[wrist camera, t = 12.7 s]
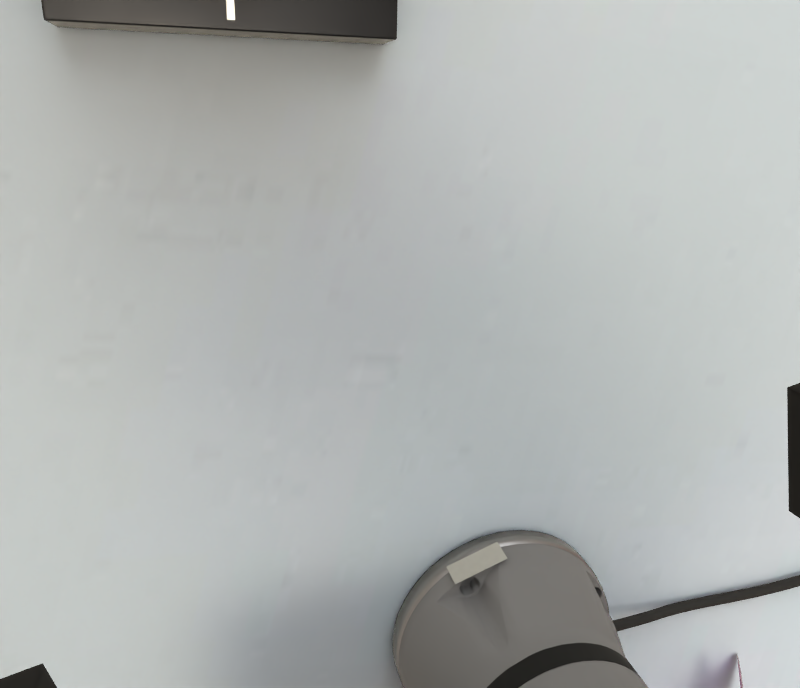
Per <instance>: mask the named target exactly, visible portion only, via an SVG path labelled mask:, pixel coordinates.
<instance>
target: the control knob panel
mask: <svg viewBox="0 0 800 688" xmlns="http://www.w3.org/2000/svg"><path fill="white" fill-rule="evenodd" d="M41 2H42V9H43V17H44V20H46V21H48V22H49V23H51V24H53V25H55V26H57V27H63V28H82V29H101V30H120V31H139V32H158V33H176V34H195V35H214V36H233V37H252V38H271V39H290V40H309V41H328V42H346V43H365V44H385V43H388V42H390V41H393V40H395V39H396V38H397V0H41Z"/></svg>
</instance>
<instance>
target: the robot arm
mask: <svg viewBox="0 0 800 688" xmlns="http://www.w3.org/2000/svg"><path fill="white" fill-rule="evenodd" d="M787 396H788V475H789V511H790V512H792V513H793V514H794V515H796V516H797V517H799V518H800V383H798V384H796V385H793V386H790V387H788V388H787ZM798 586H800V575H799V576H795V577H792V578H788V579H784V580H780V581H776V582H773V583H769V584H765V585H760V586H756V587H751V588H747V589H742V590H737V591H732V592H727V593H721V594H716V595H711V596H706V597H701V598H696V599H691V600H687V601H682V602H678V603H674V604H670V605H667V606H663V607H660V608H656V609H653V610H650V611H647V612H643V613H640V614H636V615H633V616H629V617H625V618H621V619H617V620H613V621H612V619H611V617H610V615H609V609H608V604H607V600H606V597H605V594H604V591H603V589H602V587H601V585H600V583H599V581H598V579H597V577H596V575H595V574H594V572H593V571H592V569H591V568H590V567H589V566H588V564H587V563H586V562H585V561H584V560H583V558H582V557H581V556H580V555H579V554H578V552H576V551H575V550H574V549H573V548H572V547H571V546H570V545H568V544H567V543H565V542H564V541H562V540H560V539H558V538H556V537H554V536H551V535H548V534H545V533H541V532H535V531H525V530H517V531H505V532H499V533H494V534H490V535H487V536H483V537H480V538H478V539H475V540H473V541H470V542H468V543H466V544H464V545H462V546H460V547H458V548H457V549H455V550H453V551H451V552H450V553H448V554H447V555H446V556H444V557H443V558H441V559H440V560H439V561H438V562H436V563H435V564H434V565H433V566H432V567H431V568H430V569H429V570H427V571H426V572H425V573H424V574H423V576H422V577H421V578H420V579H419V580H418V581H417V582H416V584H415V585H414V587H413V588H412V589H411V591H410V592H409V594H408V595H407V597H406V599H405V600H404V602H403V604H402V606H401V609H400V611H399V614H398V616H397V619H396V623H395V627H394V632H393V644H392V646H393V656H394V661H395V664H396V667H397V670H398V673H399V676H400V679H401V682H402V685H403V687H404V688H648V687H647V685H646V684H645V683H644V681H643V680H642V679H641V677H640V676H639V675H638V674H637V672H636V671H635V670H634V668H633V667H632V666H631V664H630V663H629V662H628V660H627V659H626V658H625V655H624V652H623V649H622V646H621V643H620V640H619V637H618V634H617V631H620V630H624V629H628V628H631V627H635V626H639V625H642V624H646V623H649V622H652V621H655V620H658V619H661V618H665V617H668V616H671V615H675V614H679V613H683V612H687V611H691V610H695V609H700V608H705V607H710V606H715V605H720V604H725V603H730V602H735V601H740V600H745V599H750V598H754V597H759V596H763V595H767V594H771V593H775V592H779V591H783V590H787V589H790V588H794V587H798ZM0 688H57V687H56V685H55V684H54V682H53V680H52V679H51V677H50V675H49V673H48V672H47V670H46V668H45V667H44V665H43V664H40V665H37V666H35V667H32V668H29V669H26V670H24V671H21V672H18V673H16V674H13V675H10V676H8V677H5V678H2V679H0Z"/></svg>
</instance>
